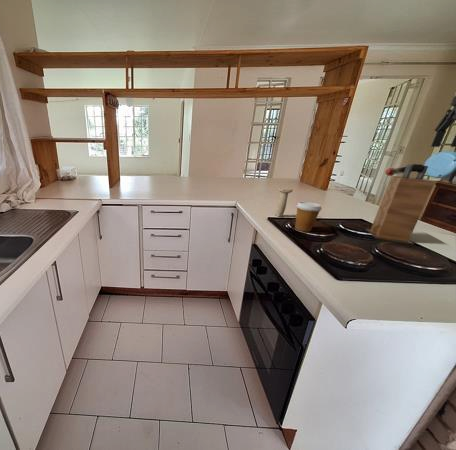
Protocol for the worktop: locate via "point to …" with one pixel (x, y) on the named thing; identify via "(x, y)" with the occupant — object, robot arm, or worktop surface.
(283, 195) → the mushroom
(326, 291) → the worktop surface
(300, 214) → the disposable coffee cup
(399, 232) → the lever post
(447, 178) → the robot arm
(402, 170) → the lever
